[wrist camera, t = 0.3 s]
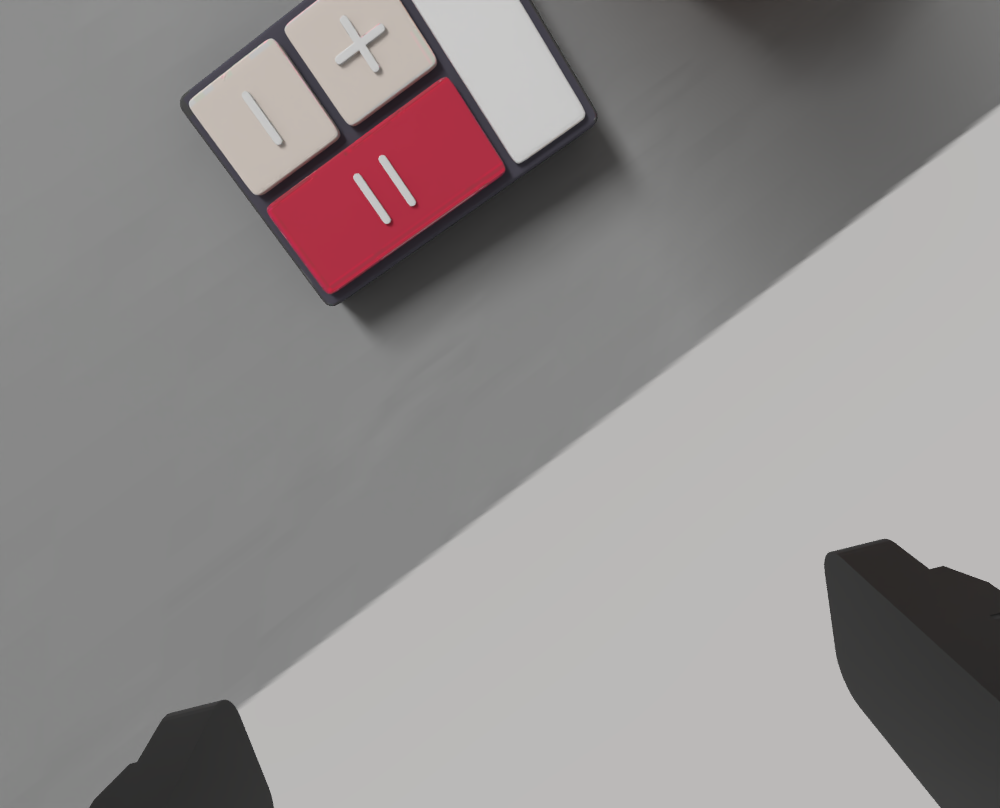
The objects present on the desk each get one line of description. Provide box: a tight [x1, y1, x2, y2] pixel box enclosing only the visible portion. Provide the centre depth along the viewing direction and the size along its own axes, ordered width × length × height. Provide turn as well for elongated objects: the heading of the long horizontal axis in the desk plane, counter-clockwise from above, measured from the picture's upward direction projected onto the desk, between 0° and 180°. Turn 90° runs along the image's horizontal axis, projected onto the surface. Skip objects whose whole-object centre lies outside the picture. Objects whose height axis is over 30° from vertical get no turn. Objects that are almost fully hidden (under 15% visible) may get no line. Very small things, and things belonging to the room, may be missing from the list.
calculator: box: [180, 0, 597, 306], centre depth 33 cm, size 11×4×15 cm
